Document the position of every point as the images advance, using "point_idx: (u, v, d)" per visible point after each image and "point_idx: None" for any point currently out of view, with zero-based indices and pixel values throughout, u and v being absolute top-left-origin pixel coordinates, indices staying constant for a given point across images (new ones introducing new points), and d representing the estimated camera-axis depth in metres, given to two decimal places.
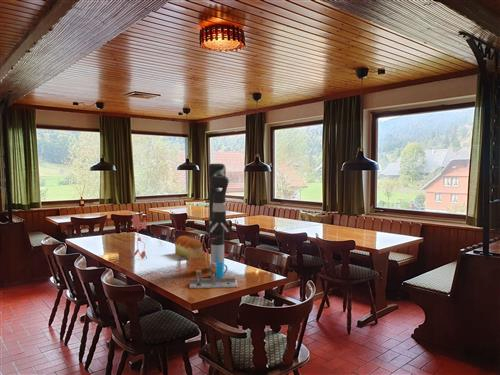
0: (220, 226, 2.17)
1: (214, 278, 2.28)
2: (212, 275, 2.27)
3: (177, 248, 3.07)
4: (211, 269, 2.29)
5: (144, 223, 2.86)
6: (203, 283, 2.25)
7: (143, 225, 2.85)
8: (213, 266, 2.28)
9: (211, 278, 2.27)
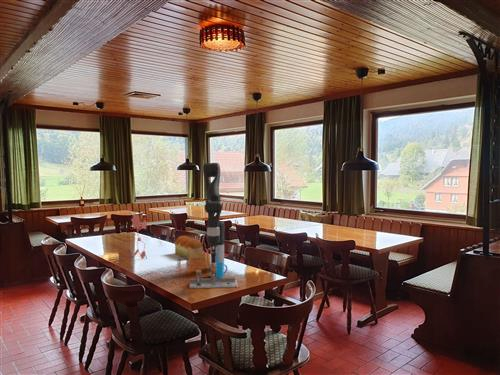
0: None
1: (214, 278, 2.28)
2: (212, 275, 2.27)
3: (177, 248, 3.07)
4: (211, 269, 2.29)
5: (144, 223, 2.86)
6: (203, 283, 2.25)
7: (143, 225, 2.85)
8: (213, 266, 2.28)
9: (211, 278, 2.27)
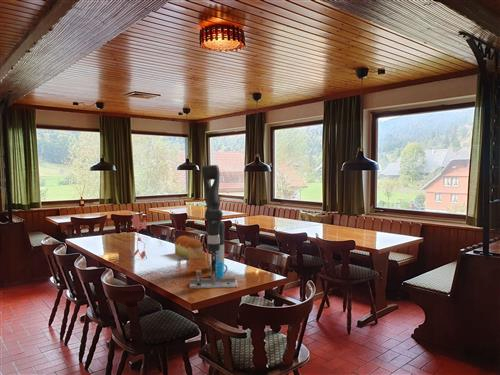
0: (215, 256, 2.29)
1: (214, 278, 2.28)
2: (212, 275, 2.27)
3: (177, 248, 3.07)
4: (211, 269, 2.29)
5: (144, 223, 2.86)
6: (203, 283, 2.25)
7: (143, 225, 2.85)
8: None
9: (211, 278, 2.27)
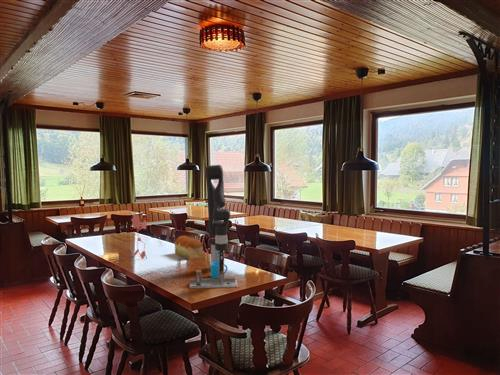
0: (223, 256, 2.29)
1: (222, 278, 2.28)
2: None
3: (176, 248, 3.07)
4: (219, 269, 2.29)
5: (144, 223, 2.86)
6: (203, 283, 2.25)
7: (143, 225, 2.85)
8: None
9: (219, 278, 2.28)
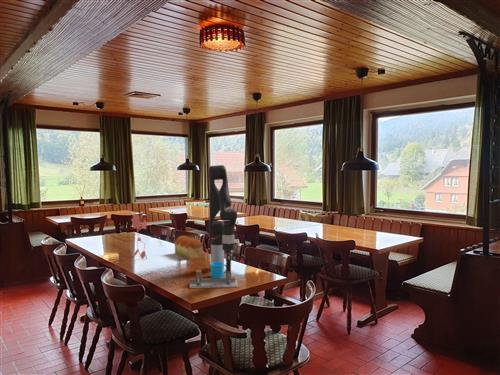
0: None
1: None
2: (227, 275, 2.28)
3: (176, 248, 3.07)
4: (226, 269, 2.30)
5: (144, 223, 2.86)
6: (203, 283, 2.25)
7: (143, 225, 2.85)
8: None
9: (226, 278, 2.28)
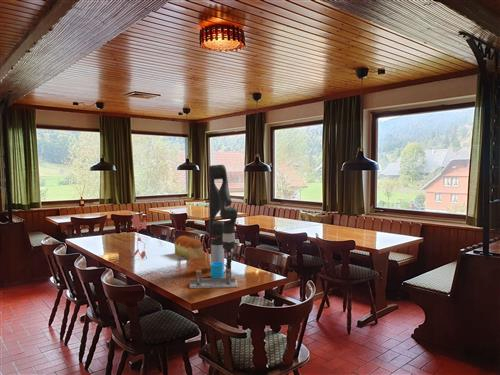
0: None
1: None
2: (227, 275, 2.28)
3: (176, 248, 3.07)
4: (226, 269, 2.30)
5: (144, 223, 2.86)
6: (203, 283, 2.25)
7: (143, 225, 2.85)
8: None
9: (226, 278, 2.28)
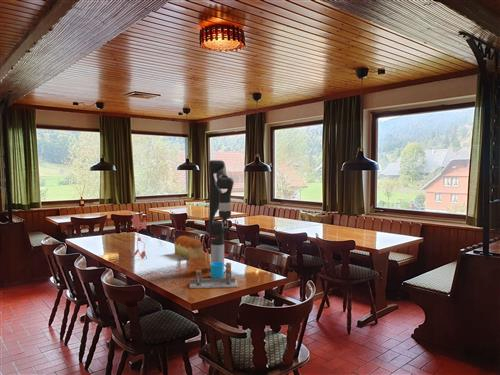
0: None
1: None
2: (227, 275, 2.28)
3: (176, 248, 3.07)
4: (226, 269, 2.30)
5: (144, 223, 2.86)
6: (203, 283, 2.25)
7: (143, 225, 2.85)
8: (228, 266, 2.29)
9: (226, 278, 2.28)
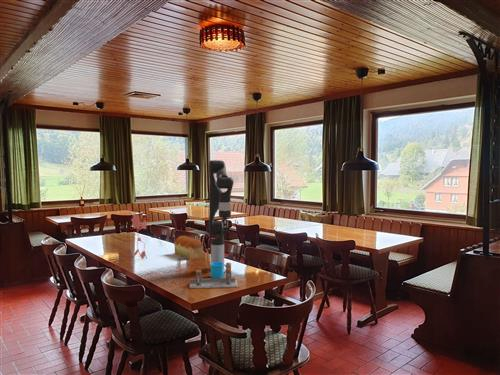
0: None
1: None
2: (227, 275, 2.28)
3: (176, 248, 3.07)
4: (226, 269, 2.30)
5: (144, 223, 2.86)
6: (203, 283, 2.25)
7: (143, 225, 2.85)
8: (228, 266, 2.29)
9: (226, 278, 2.28)
